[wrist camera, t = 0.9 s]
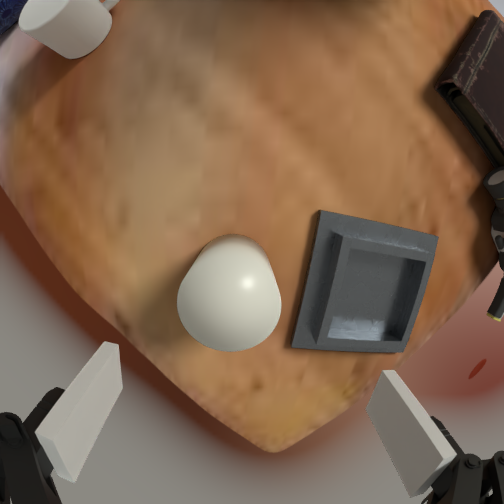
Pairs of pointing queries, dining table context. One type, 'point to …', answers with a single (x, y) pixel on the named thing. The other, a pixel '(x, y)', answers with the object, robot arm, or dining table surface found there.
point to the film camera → (497, 234)
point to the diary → (479, 85)
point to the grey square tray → (362, 285)
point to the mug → (68, 24)
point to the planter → (10, 12)
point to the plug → (230, 295)
